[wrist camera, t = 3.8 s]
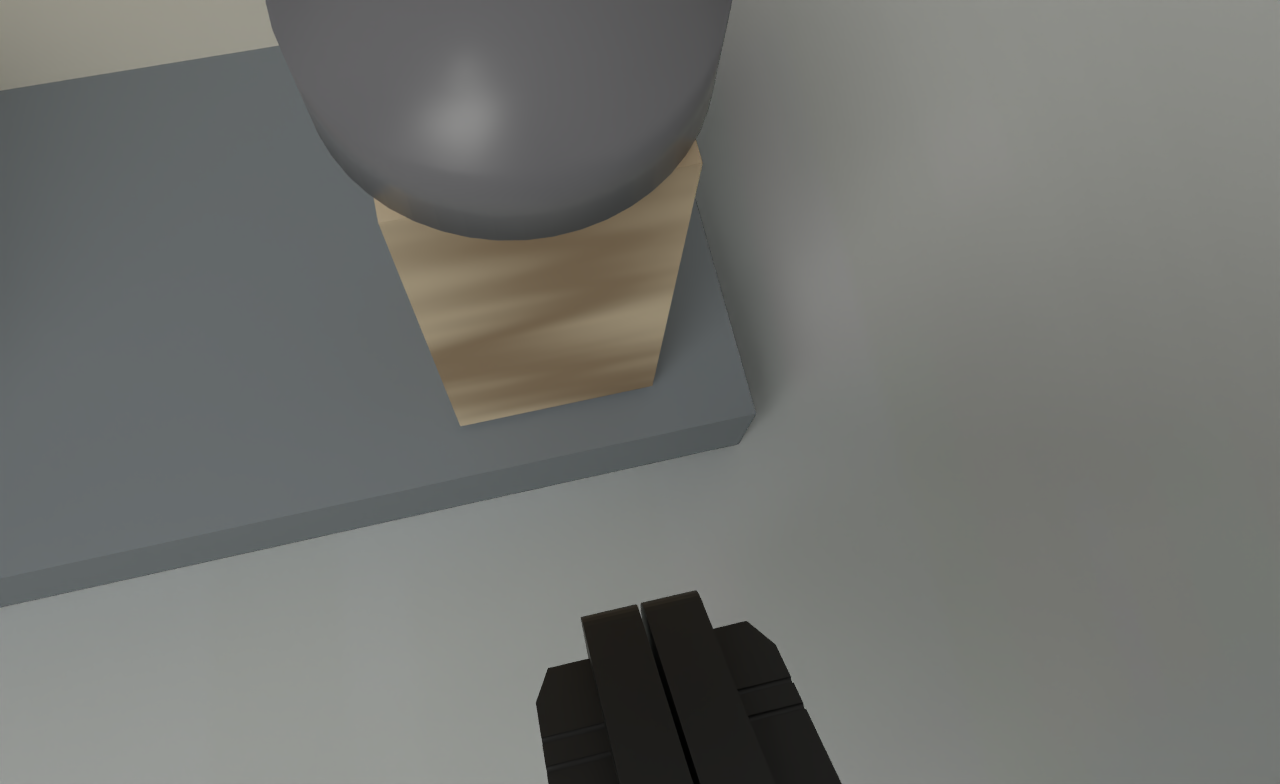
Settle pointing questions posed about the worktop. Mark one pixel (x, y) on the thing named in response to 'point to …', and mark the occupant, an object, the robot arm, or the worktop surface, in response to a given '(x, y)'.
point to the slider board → (245, 318)
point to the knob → (520, 174)
